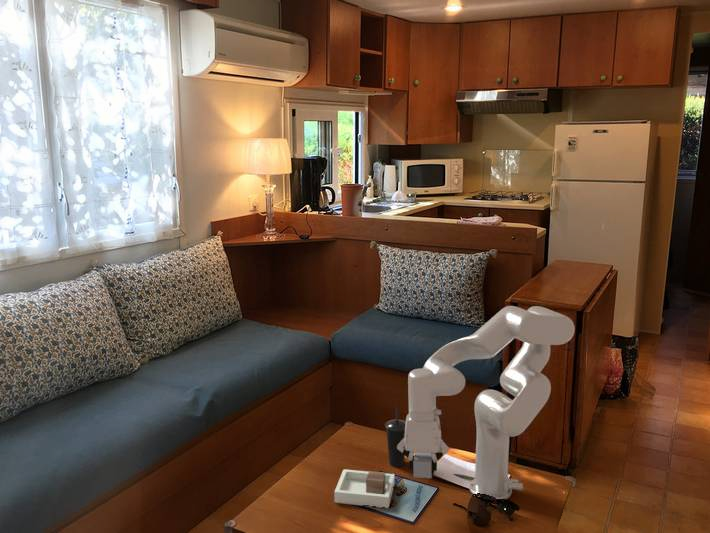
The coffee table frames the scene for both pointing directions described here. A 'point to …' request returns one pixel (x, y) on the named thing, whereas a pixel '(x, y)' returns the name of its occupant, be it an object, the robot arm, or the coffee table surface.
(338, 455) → the coffee table surface
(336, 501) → the white tray
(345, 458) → the coffee table surface
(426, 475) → the grey block
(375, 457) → the coffee table surface
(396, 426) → the drinking cup
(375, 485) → the walnut block
